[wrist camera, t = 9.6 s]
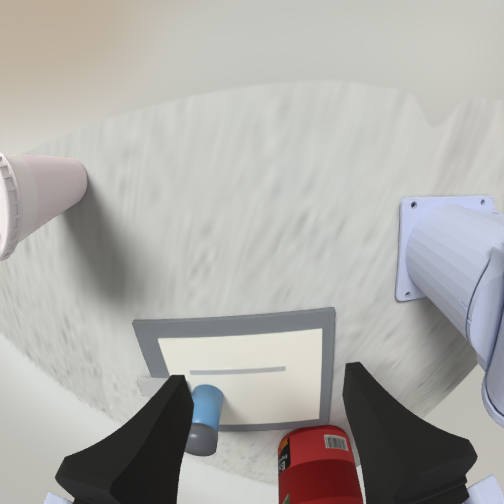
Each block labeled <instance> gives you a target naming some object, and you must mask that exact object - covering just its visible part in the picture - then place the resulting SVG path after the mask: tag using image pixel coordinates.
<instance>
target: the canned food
mask: <svg viewBox="0 0 504 504" xmlns="http://www.w3.org/2000/svg"><path fill="white" fill-rule="evenodd" d="M278 480H279V504H363V498H362V493H361V488H360V484H359V479H358V475H357V470H356V466H355V462H354V457H353V453H352V449H351V445H350V441H349V438H348V436H347V435H346V433H345V432H344V431H343V430H342V429H341V428H339V427H336V426H332V425H320V426H312V427H303V428H299V429H297V430H294V431H292V432H290V433H289V434H287V435H286V436H285V437H284V438H283V439H282V440H281V442H280V445H279V448H278Z"/></svg>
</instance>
